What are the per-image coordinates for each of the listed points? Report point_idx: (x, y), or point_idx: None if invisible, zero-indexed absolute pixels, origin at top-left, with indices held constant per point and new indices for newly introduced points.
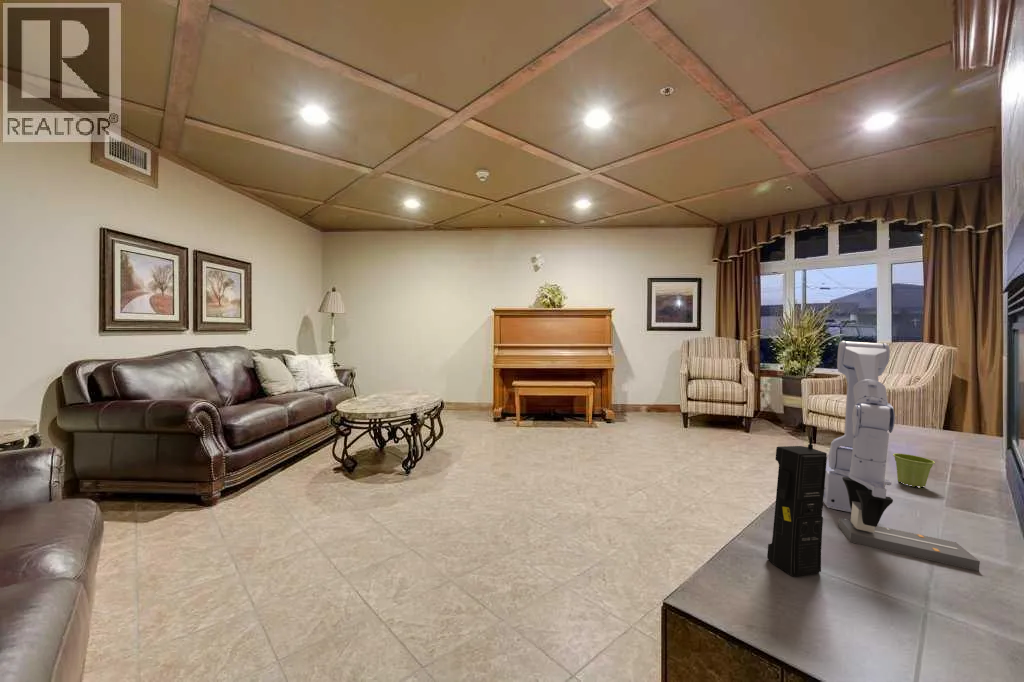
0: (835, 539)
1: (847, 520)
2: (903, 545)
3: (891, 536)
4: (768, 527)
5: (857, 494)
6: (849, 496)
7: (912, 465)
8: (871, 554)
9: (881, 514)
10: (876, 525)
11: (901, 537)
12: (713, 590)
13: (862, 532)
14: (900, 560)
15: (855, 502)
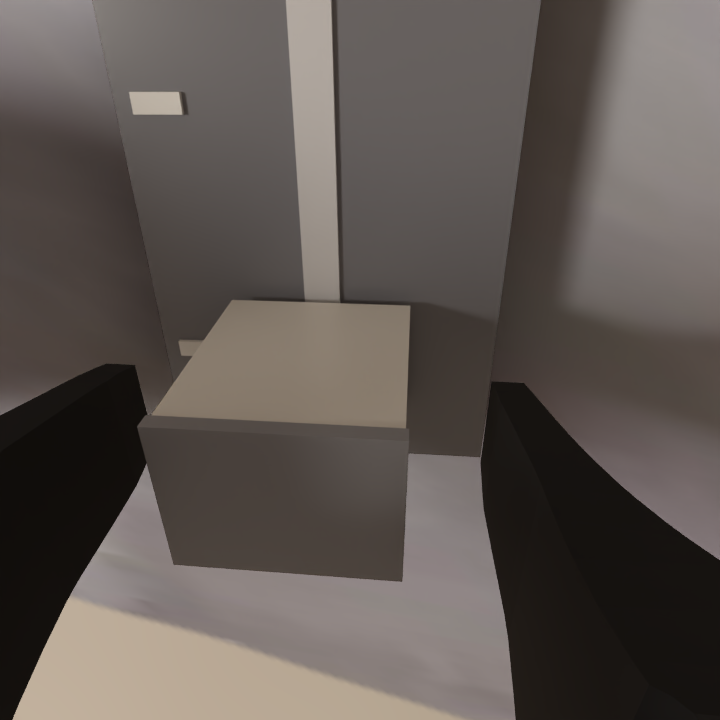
0: (478, 480)
1: None
2: (525, 92)
3: (357, 143)
4: (493, 704)
5: (25, 569)
6: (68, 578)
7: None
8: (632, 346)
9: (616, 483)
10: (533, 394)
11: (334, 39)
12: None
13: (417, 376)
14: (665, 163)
15: (200, 550)
